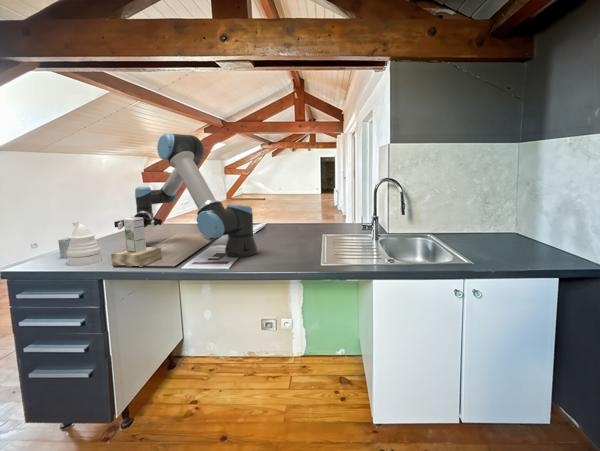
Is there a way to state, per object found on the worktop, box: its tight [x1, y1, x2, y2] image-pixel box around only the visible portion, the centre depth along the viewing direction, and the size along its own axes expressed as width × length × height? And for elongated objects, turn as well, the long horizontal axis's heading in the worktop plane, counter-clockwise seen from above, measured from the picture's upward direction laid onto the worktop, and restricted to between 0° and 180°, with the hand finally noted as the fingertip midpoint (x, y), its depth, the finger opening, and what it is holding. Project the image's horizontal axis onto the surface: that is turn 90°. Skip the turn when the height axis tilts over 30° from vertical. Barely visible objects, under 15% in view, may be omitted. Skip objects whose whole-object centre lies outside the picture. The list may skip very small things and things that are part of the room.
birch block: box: [110, 246, 162, 268], centre depth 156 cm, size 14×14×5 cm
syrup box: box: [123, 216, 147, 252], centre depth 154 cm, size 6×6×14 cm
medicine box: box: [57, 237, 70, 259], centre depth 168 cm, size 8×4×9 cm, turn 168°
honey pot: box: [66, 221, 103, 266], centre depth 157 cm, size 13×13×18 cm
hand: (135, 225), depth 158 cm, fingers open, 13 cm apart
